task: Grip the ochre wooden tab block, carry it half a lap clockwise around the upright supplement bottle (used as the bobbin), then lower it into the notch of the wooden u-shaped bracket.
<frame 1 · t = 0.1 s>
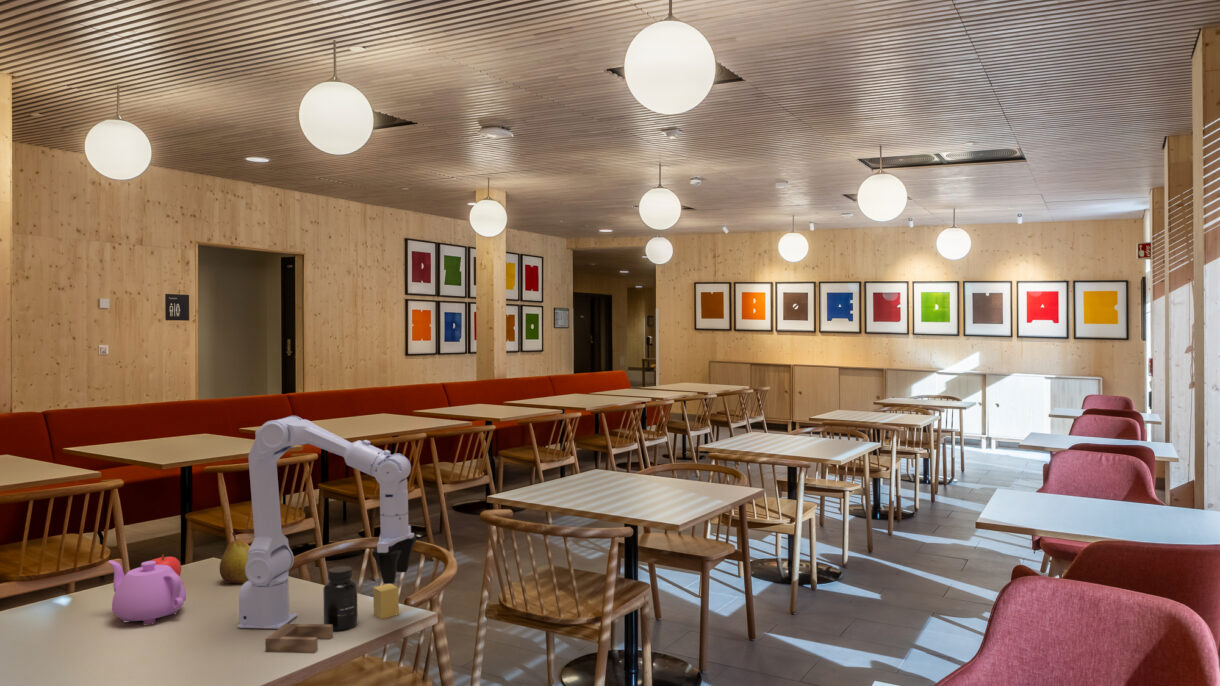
hand: (395, 577, 170), 10 cm above the table, fingers open, 7 cm apart
supplement bottle: (341, 626, 171), on the table
tab block: (386, 614, 177), on the table
fruit: (240, 581, 202), on the table
wooden u-shaped bracket: (295, 643, 161), on the table
apple: (163, 587, 199), on the table
teapot: (147, 617, 178), on the table
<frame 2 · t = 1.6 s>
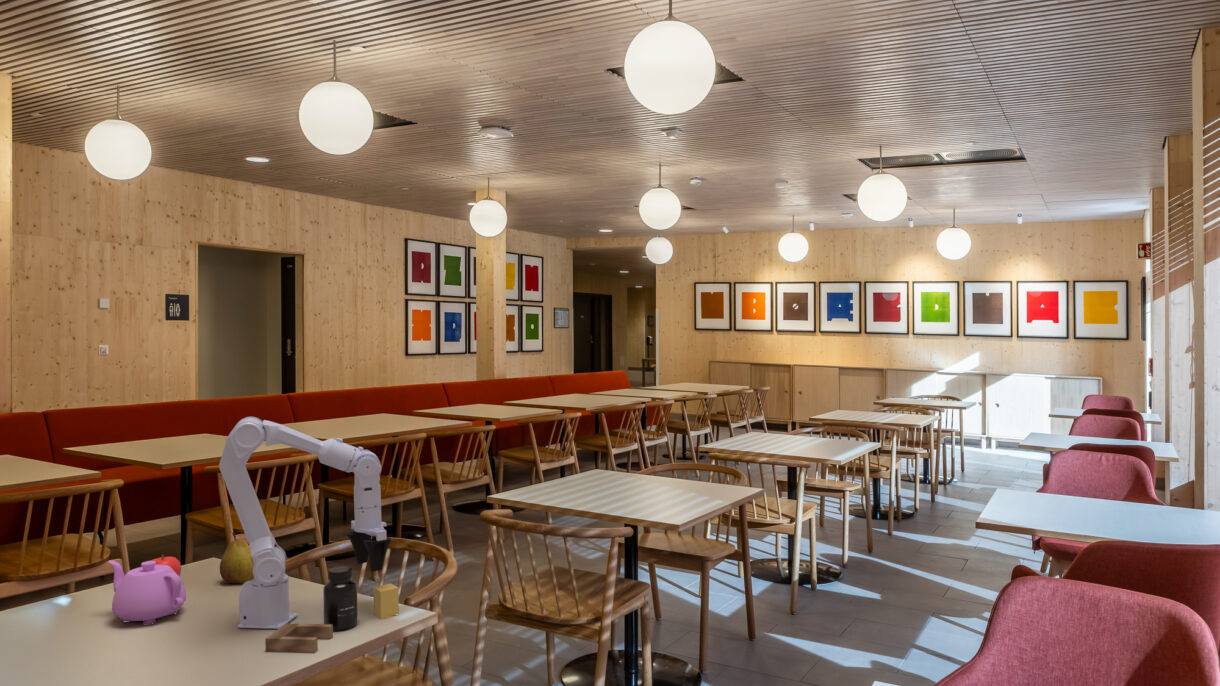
hand: (369, 566, 180), 10 cm above the table, fingers open, 7 cm apart
nothing on the table moved.
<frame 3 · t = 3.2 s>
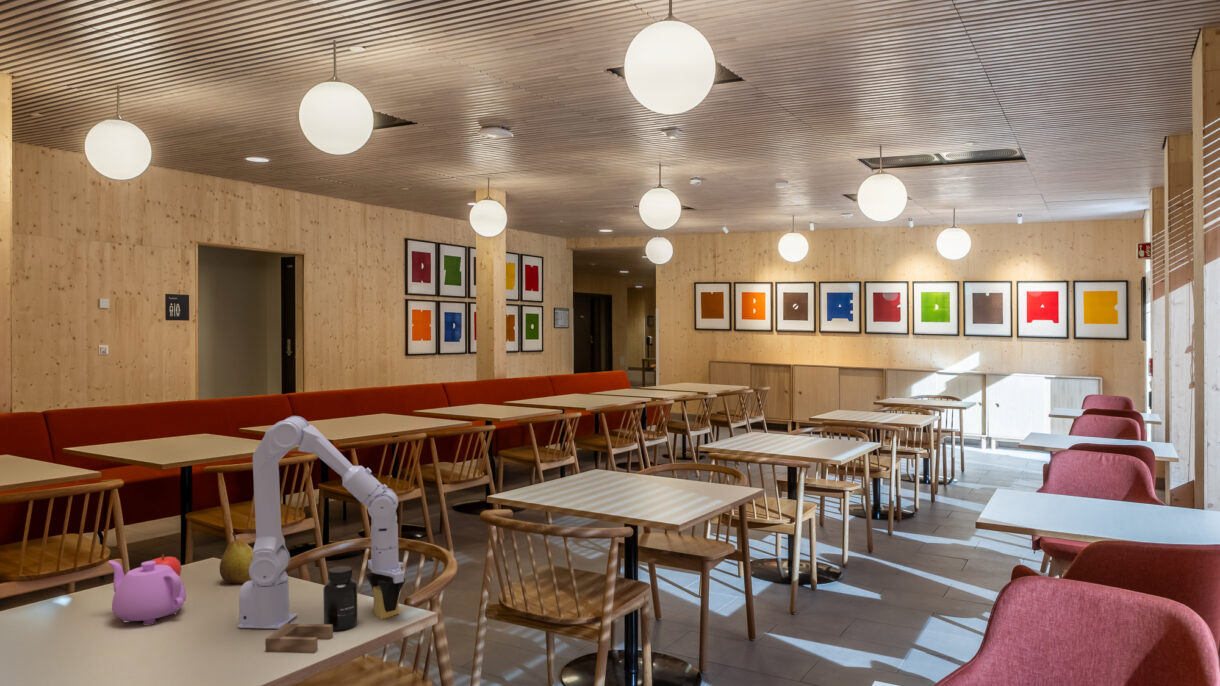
hand: (386, 607, 177), 1 cm above the table, fingers closed on tab block, 4 cm apart
tab block: (386, 614, 177), on the table, touching gripper
everything else where it was.
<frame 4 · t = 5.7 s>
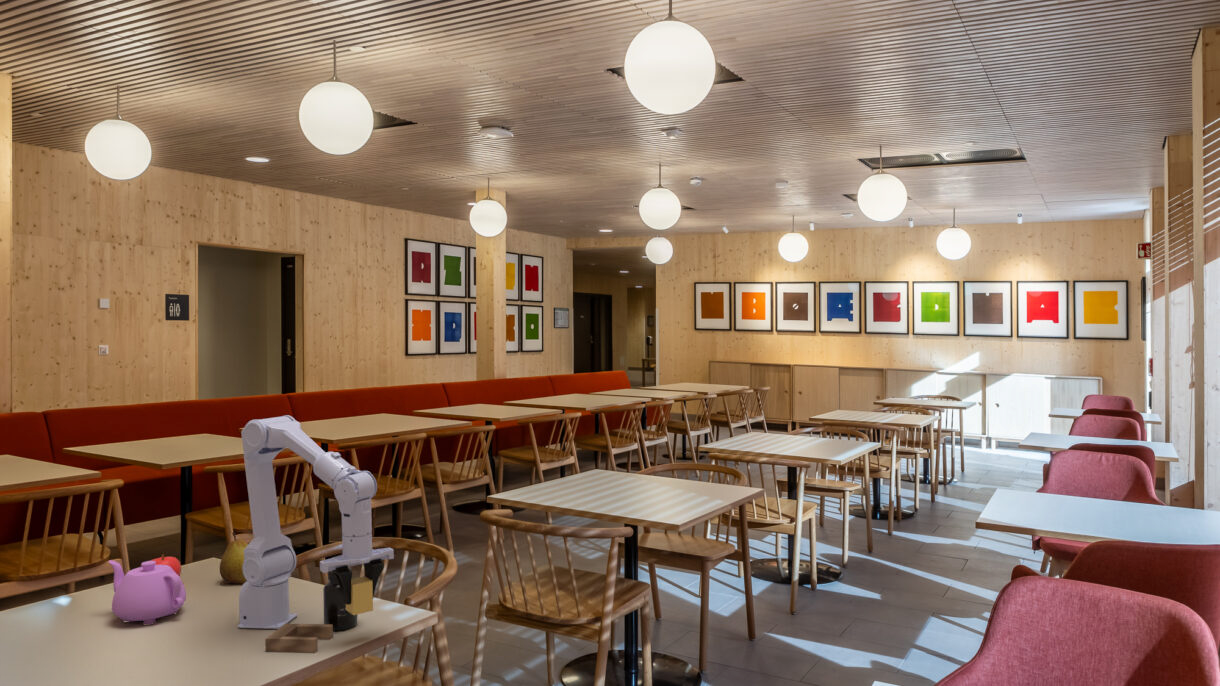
hand: (358, 600, 163), 8 cm above the table, fingers closed on tab block, 4 cm apart
tab block: (359, 610, 162), point 6 cm above the table, touching gripper
everything else where it was.
when the fingers open (3 cm above the table, at t = 8.2 s): tab block stays where it is, resting in wooden u-shaped bracket.
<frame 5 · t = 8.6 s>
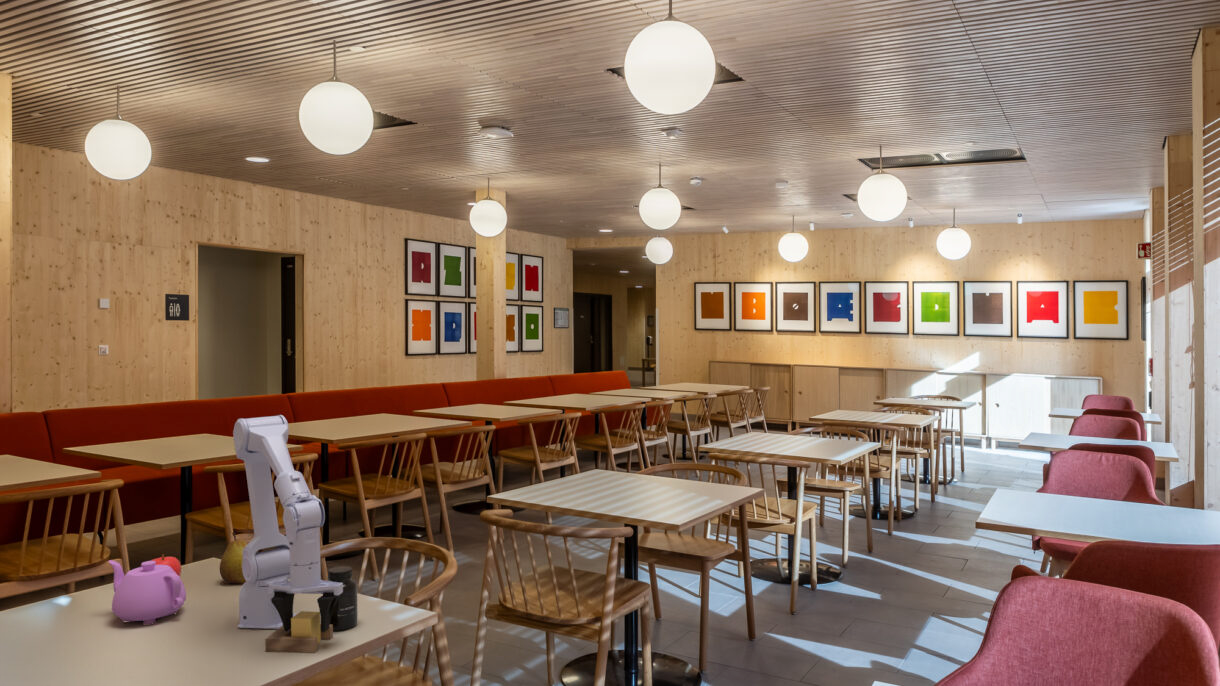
hand: (306, 629, 161), 3 cm above the table, fingers open, 7 cm apart
tab block: (306, 645, 161), resting in wooden u-shaped bracket
everything else where it was.
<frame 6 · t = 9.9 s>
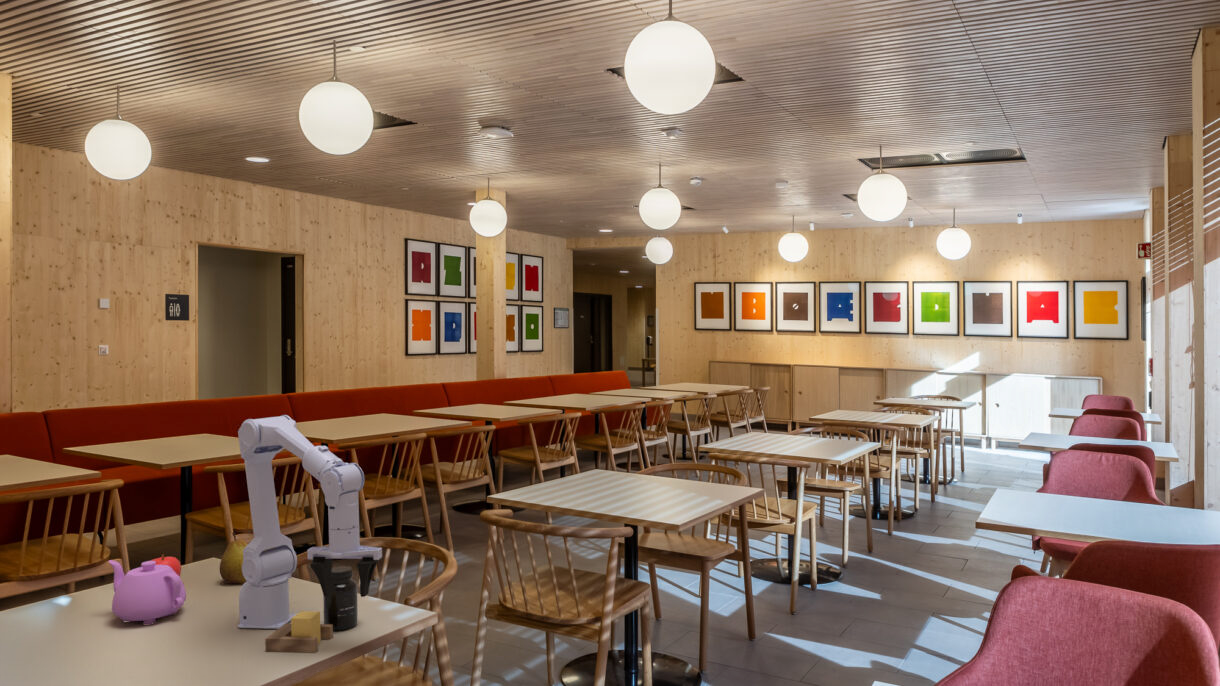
hand: (345, 594, 160), 10 cm above the table, fingers open, 7 cm apart
nothing on the table moved.
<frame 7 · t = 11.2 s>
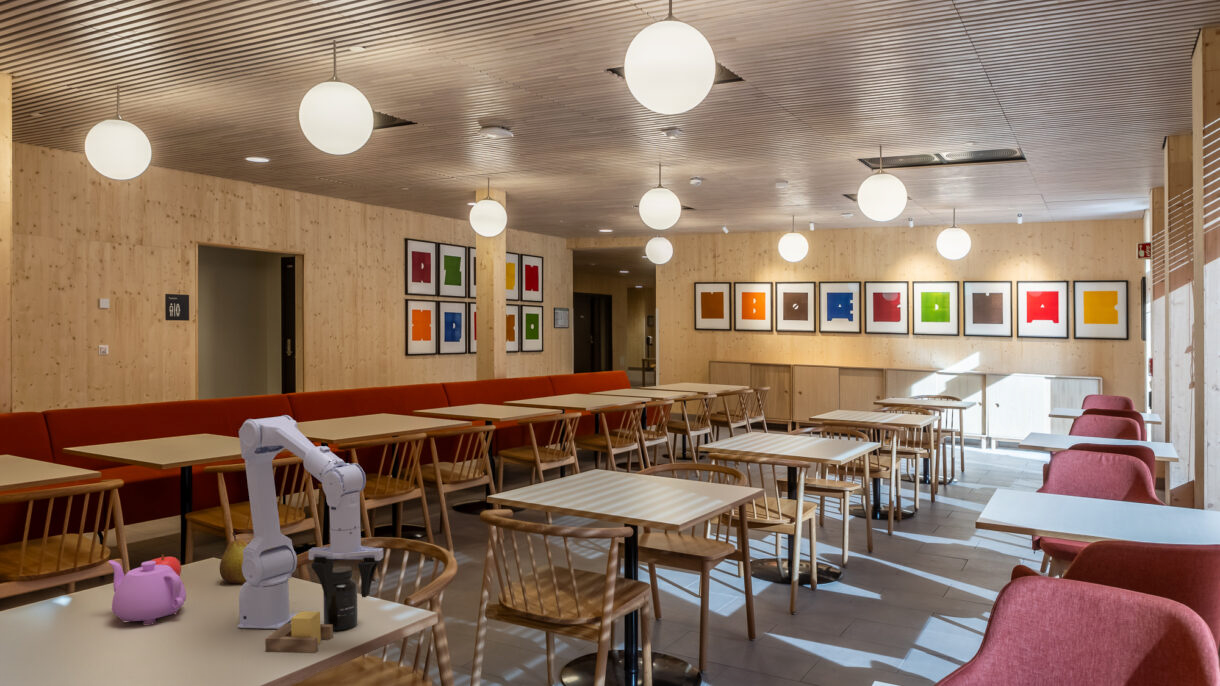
hand: (347, 595, 160), 10 cm above the table, fingers open, 7 cm apart
nothing on the table moved.
at the end: tab block 0.4 cm from the target spot on the wooden u-shaped bracket, point 0.0 cm above the wooden u-shaped bracket's base; tab block tilted 0°; the gripper is holding nothing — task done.
